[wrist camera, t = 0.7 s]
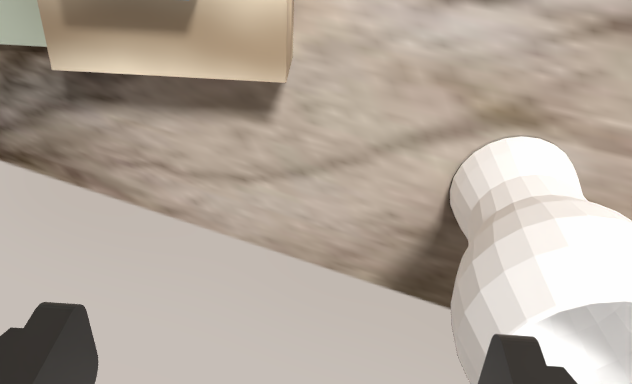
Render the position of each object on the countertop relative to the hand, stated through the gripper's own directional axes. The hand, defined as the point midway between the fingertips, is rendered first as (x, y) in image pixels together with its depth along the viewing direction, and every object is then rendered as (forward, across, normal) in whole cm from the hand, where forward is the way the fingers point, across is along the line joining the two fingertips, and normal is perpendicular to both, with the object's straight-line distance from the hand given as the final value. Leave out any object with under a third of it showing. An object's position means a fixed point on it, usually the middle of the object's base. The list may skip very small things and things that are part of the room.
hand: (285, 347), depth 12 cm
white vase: (+24, -12, +11) cm, 29 cm away
